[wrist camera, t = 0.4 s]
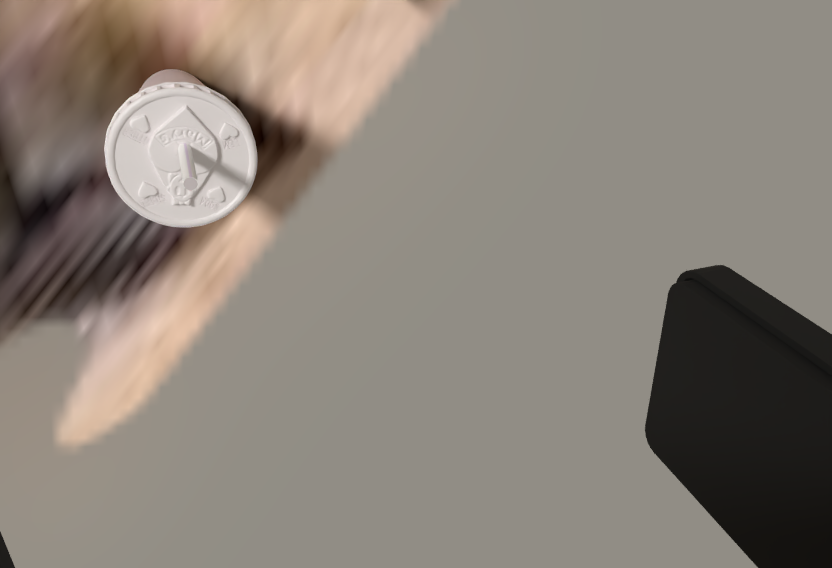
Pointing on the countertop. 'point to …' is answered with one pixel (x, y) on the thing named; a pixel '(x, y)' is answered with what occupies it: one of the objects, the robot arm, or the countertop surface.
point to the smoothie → (180, 152)
